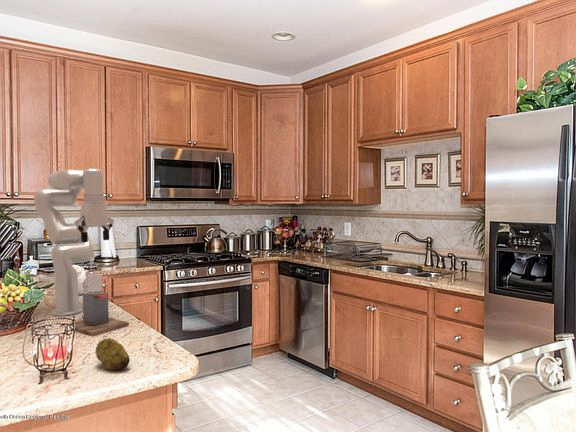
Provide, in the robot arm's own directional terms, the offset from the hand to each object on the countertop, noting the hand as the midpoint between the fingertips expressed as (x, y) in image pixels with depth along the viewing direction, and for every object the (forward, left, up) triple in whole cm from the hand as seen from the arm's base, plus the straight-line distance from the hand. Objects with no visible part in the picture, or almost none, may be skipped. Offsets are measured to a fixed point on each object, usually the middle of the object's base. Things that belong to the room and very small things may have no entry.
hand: (95, 241), depth 183 cm
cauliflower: (-64, +29, -35) cm, 79 cm away
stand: (+3, -2, -35) cm, 35 cm away
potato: (+46, -24, -35) cm, 62 cm away
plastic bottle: (-13, +6, -35) cm, 38 cm away
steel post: (+3, -2, -33) cm, 33 cm away
